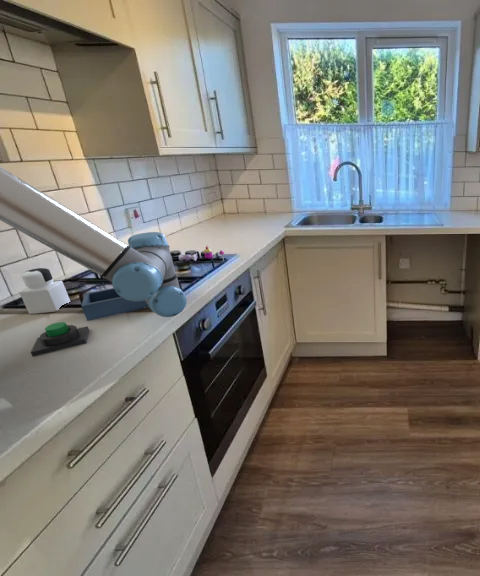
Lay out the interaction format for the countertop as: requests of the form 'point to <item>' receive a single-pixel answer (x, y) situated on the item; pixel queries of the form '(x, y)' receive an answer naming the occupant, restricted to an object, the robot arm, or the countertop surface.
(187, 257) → the set of multicoloured pieces
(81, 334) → the control block
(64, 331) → the button
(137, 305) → the rack
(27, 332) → the countertop surface
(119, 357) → the countertop surface
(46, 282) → the medicine bottle
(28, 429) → the countertop surface
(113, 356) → the countertop surface
